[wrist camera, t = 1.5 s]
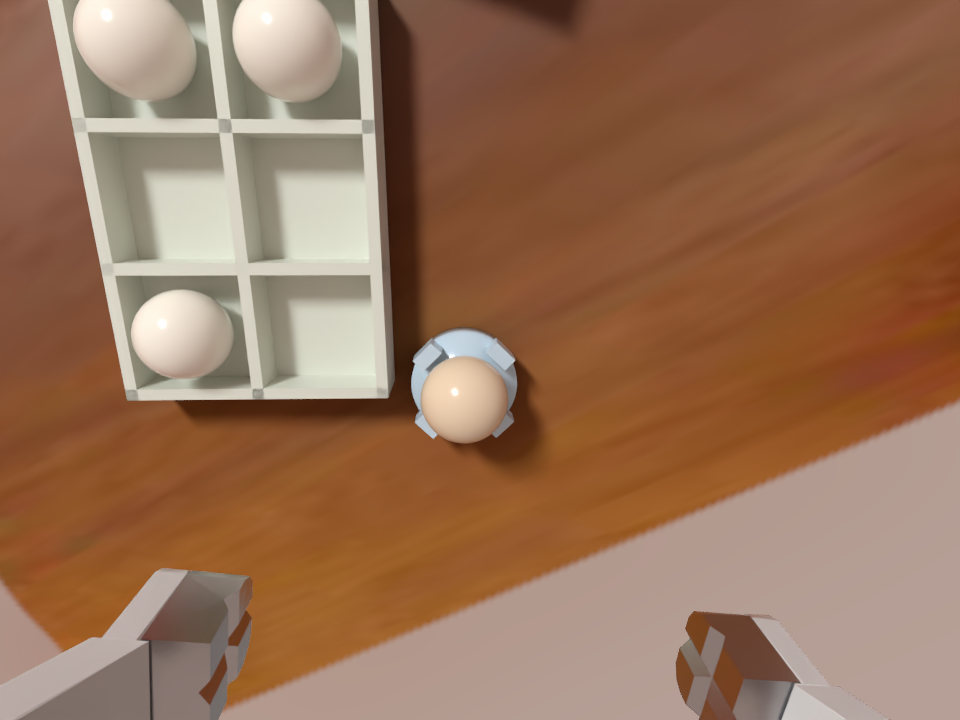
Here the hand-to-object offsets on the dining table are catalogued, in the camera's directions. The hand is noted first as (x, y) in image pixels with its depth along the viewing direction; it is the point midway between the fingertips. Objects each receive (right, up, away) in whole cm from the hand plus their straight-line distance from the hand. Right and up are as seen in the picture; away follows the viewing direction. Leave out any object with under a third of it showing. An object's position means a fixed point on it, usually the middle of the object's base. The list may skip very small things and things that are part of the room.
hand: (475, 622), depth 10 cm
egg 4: (-1, +3, +20) cm, 21 cm away
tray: (-12, +13, +19) cm, 26 cm away
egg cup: (-1, +4, +22) cm, 22 cm away
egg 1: (-15, +19, +16) cm, 29 cm away
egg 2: (-15, +7, +20) cm, 26 cm away
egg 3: (-8, +19, +16) cm, 27 cm away
